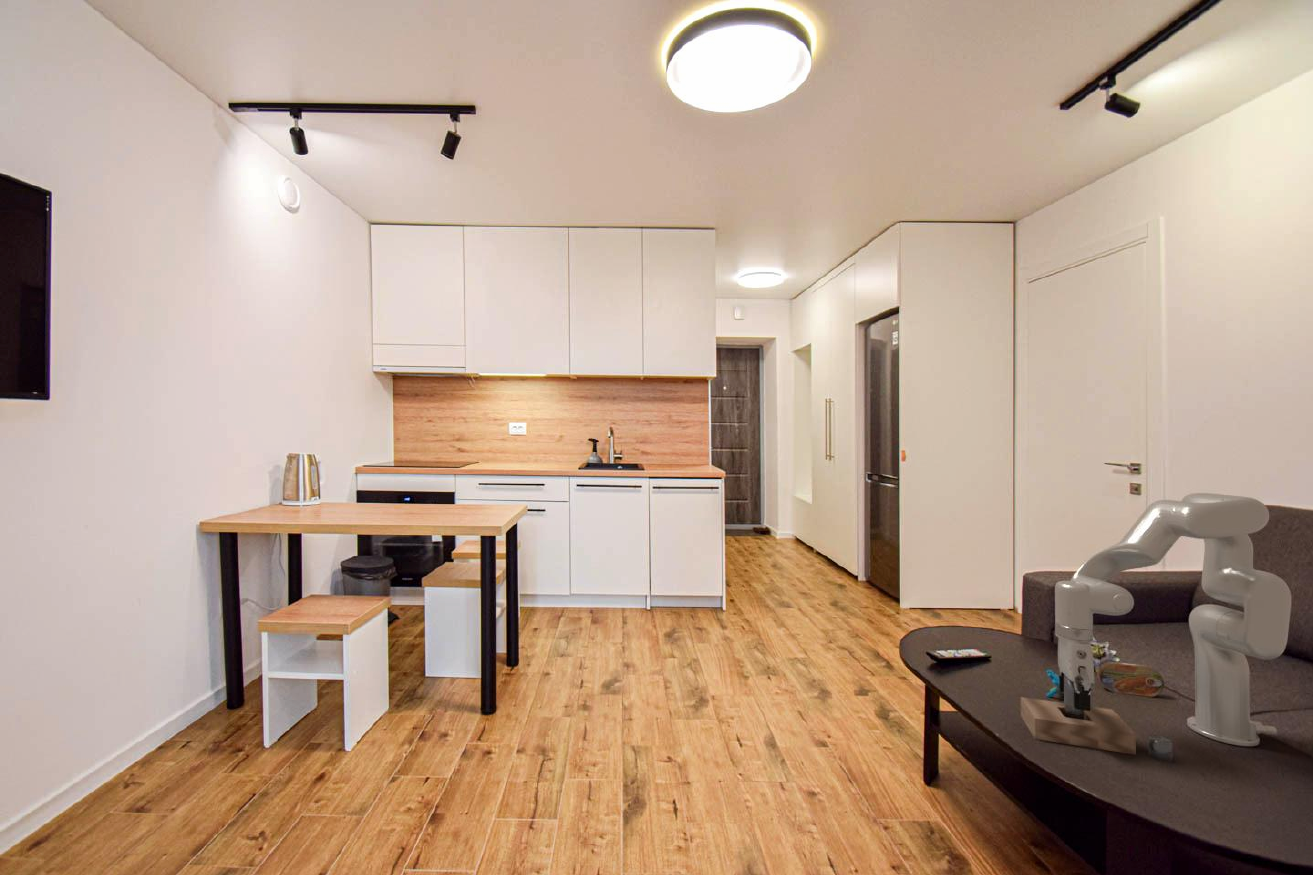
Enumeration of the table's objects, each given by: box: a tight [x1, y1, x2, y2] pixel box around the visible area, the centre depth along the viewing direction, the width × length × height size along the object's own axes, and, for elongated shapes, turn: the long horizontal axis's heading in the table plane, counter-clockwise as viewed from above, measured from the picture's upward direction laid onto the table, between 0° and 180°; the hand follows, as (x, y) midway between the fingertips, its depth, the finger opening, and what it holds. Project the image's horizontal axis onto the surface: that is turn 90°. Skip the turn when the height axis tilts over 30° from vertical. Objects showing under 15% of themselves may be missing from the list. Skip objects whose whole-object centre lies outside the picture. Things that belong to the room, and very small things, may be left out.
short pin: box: [1148, 734, 1173, 763], centre depth 126 cm, size 4×4×4 cm
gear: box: [1045, 669, 1064, 698], centre depth 156 cm, size 11×6×10 cm
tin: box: [1096, 661, 1165, 698], centre depth 159 cm, size 15×3×8 cm, turn 68°
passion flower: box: [1091, 636, 1121, 673], centre depth 177 cm, size 11×11×12 cm
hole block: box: [1020, 696, 1137, 755], centre depth 136 cm, size 20×12×5 cm, turn 70°
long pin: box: [1063, 675, 1084, 720], centre depth 136 cm, size 4×4×14 cm
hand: (1074, 700), depth 136 cm, fingers open, 9 cm apart
